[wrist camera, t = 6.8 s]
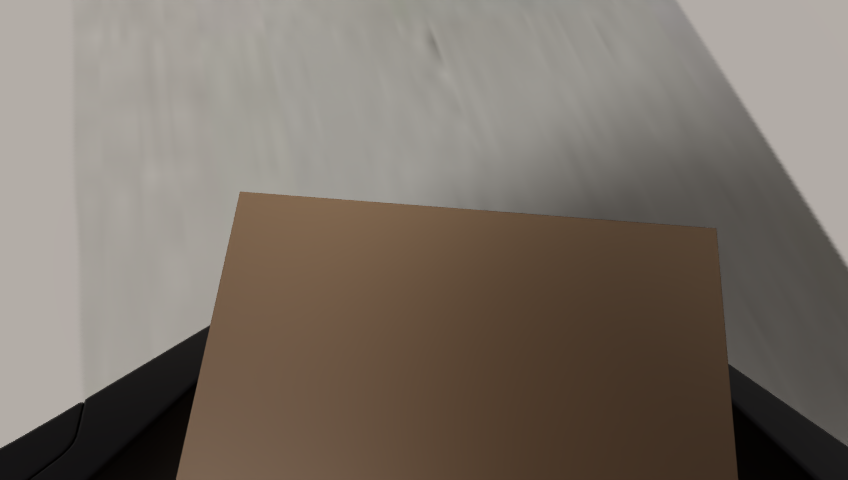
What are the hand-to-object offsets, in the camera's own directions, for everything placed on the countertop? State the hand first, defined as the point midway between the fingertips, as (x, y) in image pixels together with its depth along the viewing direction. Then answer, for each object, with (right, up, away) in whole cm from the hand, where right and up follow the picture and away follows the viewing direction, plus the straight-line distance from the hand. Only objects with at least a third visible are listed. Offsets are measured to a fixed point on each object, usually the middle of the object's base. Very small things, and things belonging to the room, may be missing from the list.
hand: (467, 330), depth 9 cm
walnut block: (0, -3, +7) cm, 8 cm away
